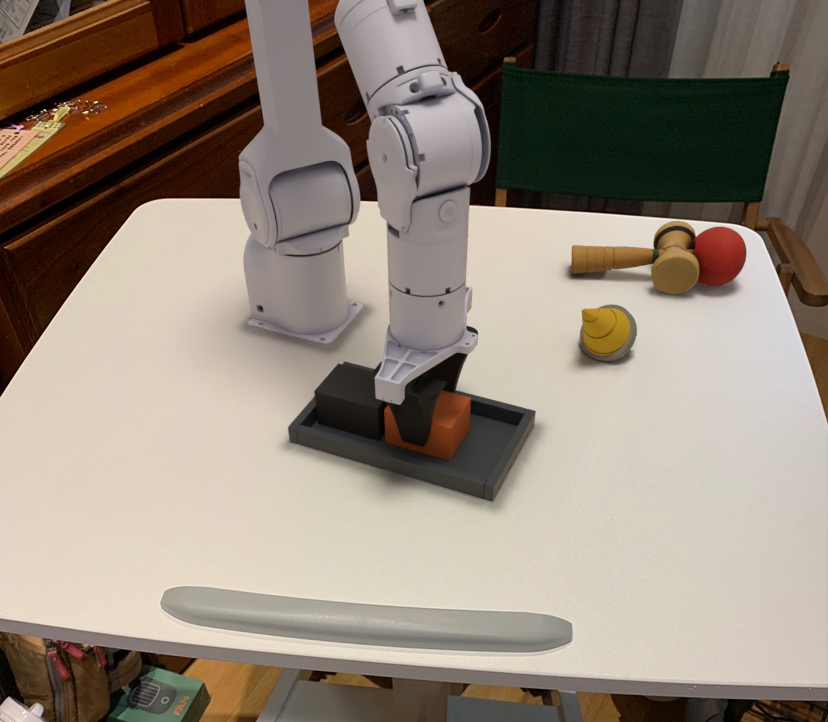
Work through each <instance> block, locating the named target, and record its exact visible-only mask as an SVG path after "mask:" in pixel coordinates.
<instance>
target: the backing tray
mask: <svg viewBox="0 0 828 722" xmlns="http://www.w3.org/2000/svg"><path fill="white" fill-rule="evenodd" d="M342 364H343V365H347V366H351V367H355V368H359V369H362V370H366V371H370V372H373V371H374V370H375V368H372V367H368V366H364V365H362V364H361V365H360V364H357V363H352V362H349V361H345V360H344V361H343V363H342ZM455 394H459V395H463V396H467V397H470V398H471V407H470V424H469V431H468V433H467V434H466V436H465V437H464V439H463V441H462V442H461V444H460V445H459V447H458V449H457V450H456V452H455V453H454V455H453V457H452V458H451V460H450V461H448V460H445V459H441V458H438V457H434V456H431V455H427V454H424V453H420V452H417V451H413V450H410V449H406V448H403V447H399V446H396V445H392V444H389V443H386V441H385V433H384V435H383V436H382V437H381V439H380V440H379V441H378V440H374V439H371V438H367V437H364V436H360V435H357V434H353V433H350V432H346V431H343V430H339V429H336V428H332V427H329V426H325V425H322V424H318V420H317V411H316V402H315V395H314V396H313V398H311V399H310V401H309V402H307V404H306V405H305V407H304V408H303V409H302V410H301V412H300V413H299V414H298V415H296V417H295V418H294V419H293V421H291V422H290V424H289V425H288V426H287V432H288V437H289V439H288V440H289V442H290V443H294V444H298V445H301V446H304V447H306V448H311V449H314V450H318V451H320V452H324V453H327V454H330V455H334V456H338V457H341V458H345V459H348V460H351V461H355V462H357V463H360V464H361V463H362V464H364V465H368V466H370V467H375V468H378V469H380V470H381V469H382V470H385V471H387V472H388V471H389V472H391V473H395V474H399V475H401V476H404V477H405V476H406V477H408V478H412V479H416V480H418V481H422V482H424V483H425V482H426V483H428V484H432V485H435V486H439V487H443V488H446V489H450V490H453V491H455V492H459V493H463V494H466V495H470V496H473V497H476V498H480V499H483V500H487V501H490V502H493V501H494V500H495V498H496V496H497V494H498V492H499V490H500V489H501V486H502V485H503V483H504V481H505V479H506V477H507V476H508V474H509V473H510V470H511V468H512V467H513V465H514V462H515V461H516V460H517V457H518V455H519V453H520V452H521V450H522V448H523V446H524V444H525V443H526V441H527V439H528V437H529V435H530V434H531V431H532V430H533V428H534V426H535V420H536V413H537V412H536V410H534V409H531V408H527V407H524V406H523V407H522V406H518V405H515V404H511V403H508V402H503V401H500V400H495V399H491V398H488V397H484V396H480V395H476V394H472V393H468V392H465V391H461V390H457V389H456V391H455Z"/></svg>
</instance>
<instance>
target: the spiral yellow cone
mask: <svg viewBox="0 0 828 722" xmlns="http://www.w3.org/2000/svg"><path fill="white" fill-rule="evenodd" d="M637 325H638V324H637V322H636V319H635V318H634V316H633V315H632V313H630V311H629V310H628V309H626V307H624V306H621V305H619V304H614V303H611V304H610V303H609V304H604V305H601V306H599V307H596V308H581V327H580V331H579V343H580V347H581V349H582V350H583V352H584V353H585V354H586V355H587V356H589V357H590V358H592V359H593V360H596V361H601V362H608V363H609V362H610V363H611V362H615V361H618V360H619V359H621V358H623V357H624V356H626V354H628V353H629V351H631V349H632V348H633V346H634V344H635V342H636V339H637V336H638V326H637Z"/></svg>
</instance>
